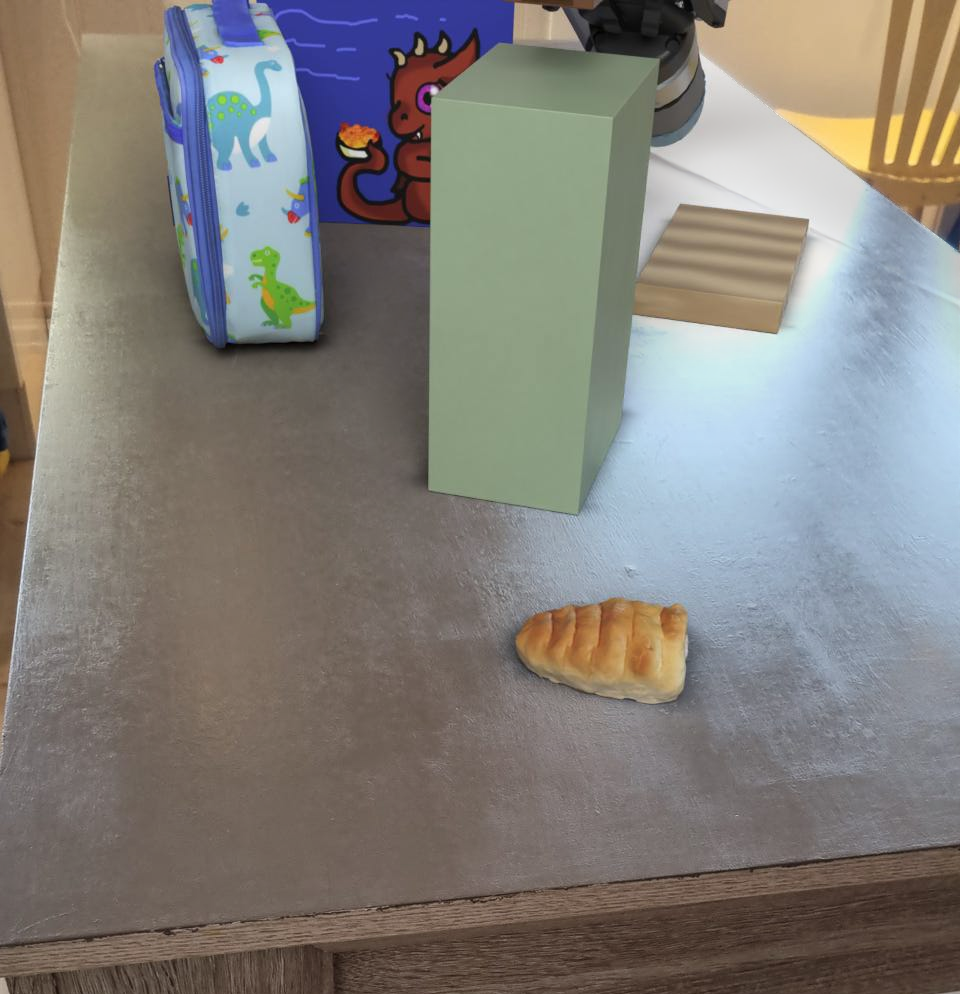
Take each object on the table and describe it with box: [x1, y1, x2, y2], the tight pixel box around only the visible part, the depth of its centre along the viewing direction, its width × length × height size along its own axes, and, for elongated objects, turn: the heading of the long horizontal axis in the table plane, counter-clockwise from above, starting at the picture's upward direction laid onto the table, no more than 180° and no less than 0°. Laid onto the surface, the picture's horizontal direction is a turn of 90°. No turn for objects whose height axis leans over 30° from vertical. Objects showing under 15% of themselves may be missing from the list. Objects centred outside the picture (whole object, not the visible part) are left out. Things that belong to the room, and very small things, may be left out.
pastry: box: [514, 596, 689, 705], centre depth 73 cm, size 9×7×4 cm
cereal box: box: [255, 0, 516, 228], centre depth 119 cm, size 22×6×30 cm, turn 88°
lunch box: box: [153, 0, 325, 349], centre depth 104 cm, size 26×11×21 cm, turn 12°
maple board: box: [633, 202, 810, 334], centre depth 119 cm, size 22×12×2 cm, turn 164°
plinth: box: [427, 43, 660, 516], centre depth 85 cm, size 14×10×23 cm
